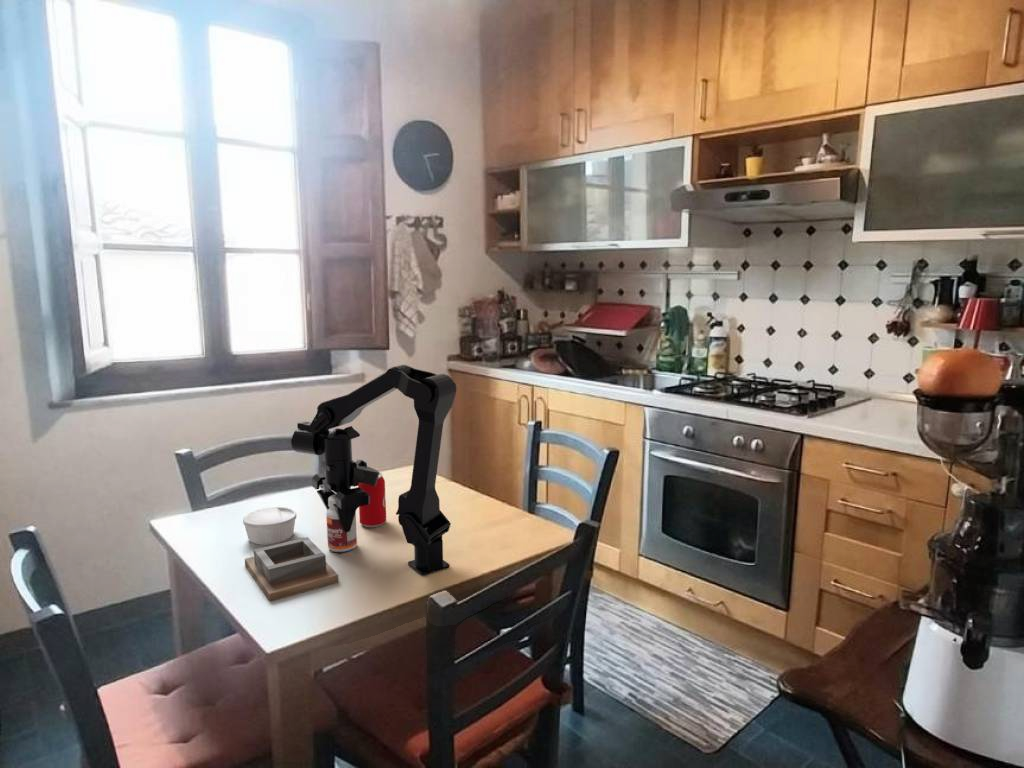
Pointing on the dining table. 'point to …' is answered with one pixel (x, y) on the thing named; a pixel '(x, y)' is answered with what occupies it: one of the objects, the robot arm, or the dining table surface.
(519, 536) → the dining table surface
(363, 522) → the beverage can
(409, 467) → the dining table surface
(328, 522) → the pill bottle
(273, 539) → the ramekin
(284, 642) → the dining table surface
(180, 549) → the dining table surface
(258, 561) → the socket board
